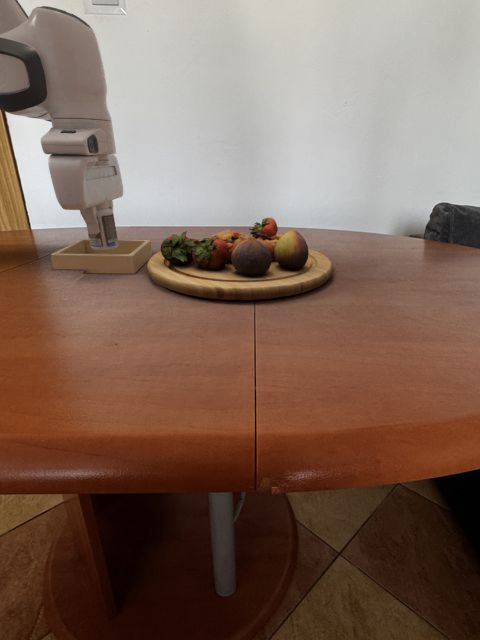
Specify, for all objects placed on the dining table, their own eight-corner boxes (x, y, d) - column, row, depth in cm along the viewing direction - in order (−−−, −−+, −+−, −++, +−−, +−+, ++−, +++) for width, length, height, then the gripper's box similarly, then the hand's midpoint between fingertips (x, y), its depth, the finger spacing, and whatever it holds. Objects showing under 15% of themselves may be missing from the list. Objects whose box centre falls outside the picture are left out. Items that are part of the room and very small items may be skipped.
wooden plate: (229, 243, 87) (228, 205, 83) (360, 267, 71) (367, 221, 67) (108, 275, 63) (99, 224, 60) (262, 322, 47) (263, 256, 43)
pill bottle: (117, 244, 71) (109, 196, 67) (120, 249, 68) (112, 199, 64) (90, 246, 69) (80, 197, 66) (92, 251, 66) (82, 200, 62)
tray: (54, 272, 64) (50, 254, 63) (84, 254, 75) (81, 238, 74) (134, 273, 65) (132, 255, 63) (152, 255, 76) (150, 240, 74)
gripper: (91, 142, 70) (104, 220, 76) (33, 139, 52) (57, 242, 58) (125, 143, 70) (135, 220, 76) (79, 140, 52) (98, 242, 58)
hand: (101, 230), depth 67 cm, fingers closed on pill bottle, 5 cm apart
